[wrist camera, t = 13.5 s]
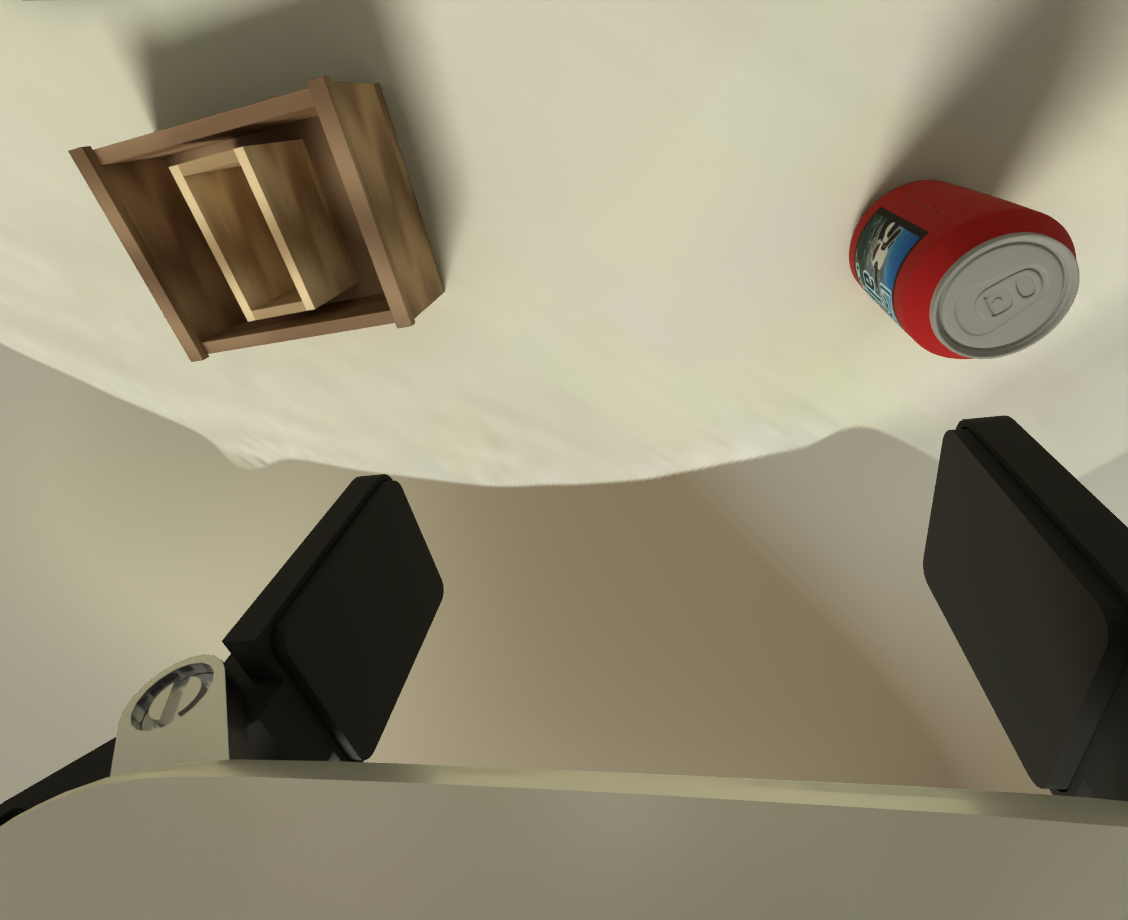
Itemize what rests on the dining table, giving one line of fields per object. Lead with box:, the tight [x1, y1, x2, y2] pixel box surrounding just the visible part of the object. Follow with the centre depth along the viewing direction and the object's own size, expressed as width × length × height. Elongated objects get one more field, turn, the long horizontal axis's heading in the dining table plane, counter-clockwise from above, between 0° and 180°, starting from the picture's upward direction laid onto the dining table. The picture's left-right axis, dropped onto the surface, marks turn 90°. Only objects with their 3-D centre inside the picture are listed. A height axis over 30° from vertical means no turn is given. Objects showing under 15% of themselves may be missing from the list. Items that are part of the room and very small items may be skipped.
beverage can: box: [849, 180, 1079, 359], centre depth 29 cm, size 7×7×12 cm
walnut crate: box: [68, 76, 445, 362], centre depth 36 cm, size 13×17×7 cm
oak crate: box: [169, 139, 359, 322], centre depth 36 cm, size 9×5×6 cm, turn 12°
